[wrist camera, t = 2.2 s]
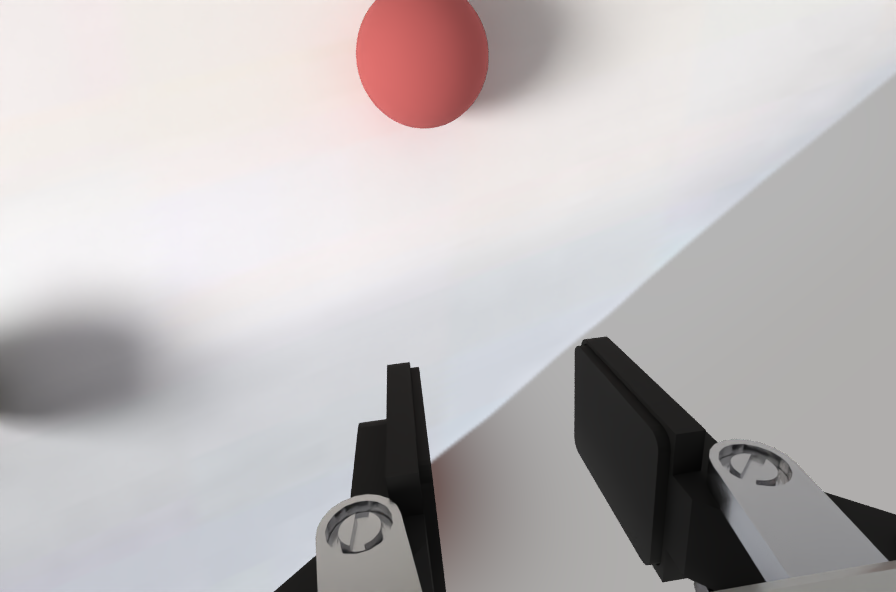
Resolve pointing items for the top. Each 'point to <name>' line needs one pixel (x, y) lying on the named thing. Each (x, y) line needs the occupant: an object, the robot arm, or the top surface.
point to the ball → (422, 59)
